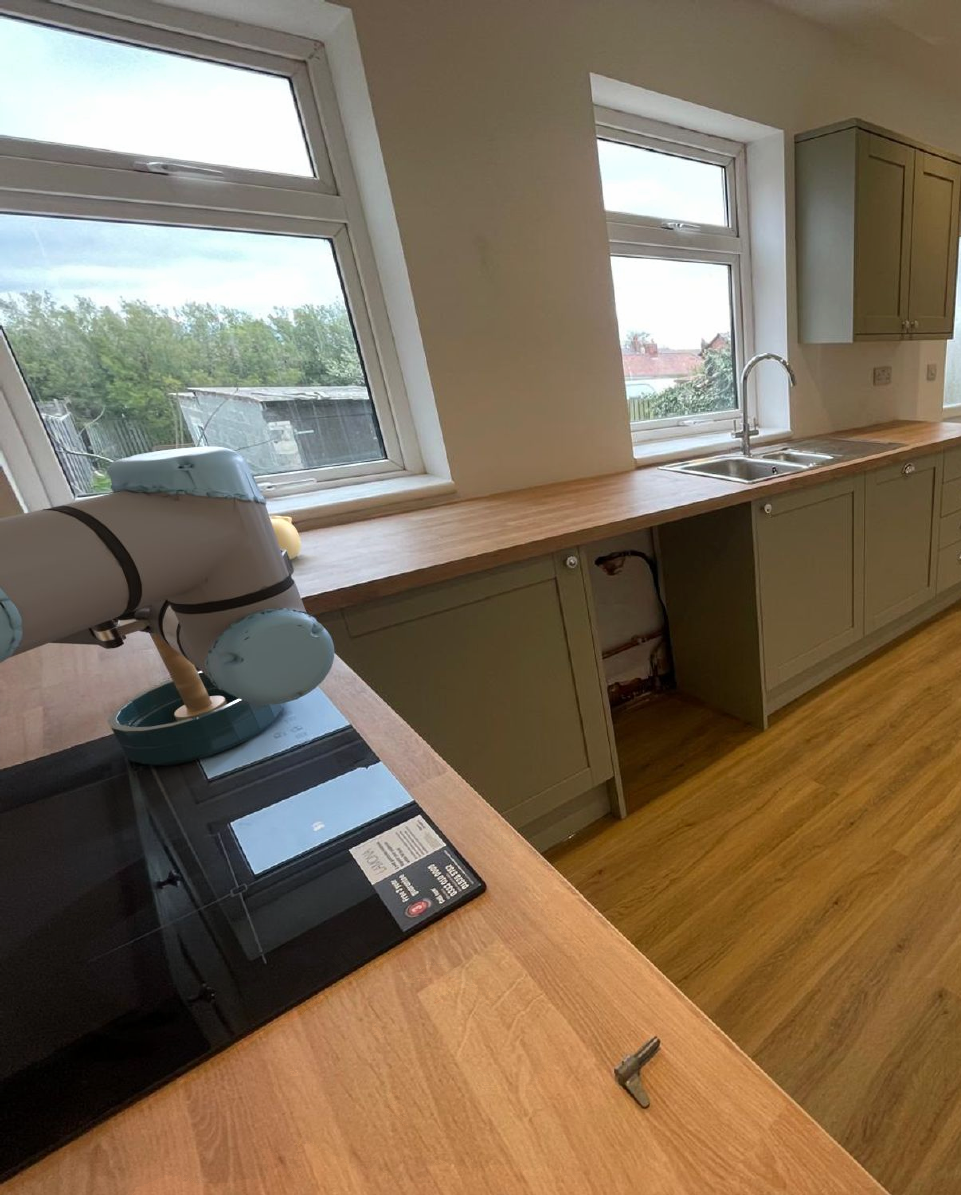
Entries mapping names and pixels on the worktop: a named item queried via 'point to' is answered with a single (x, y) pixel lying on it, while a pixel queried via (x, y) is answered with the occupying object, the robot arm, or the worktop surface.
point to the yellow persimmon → (286, 535)
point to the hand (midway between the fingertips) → (151, 576)
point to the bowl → (184, 725)
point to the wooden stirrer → (187, 683)
